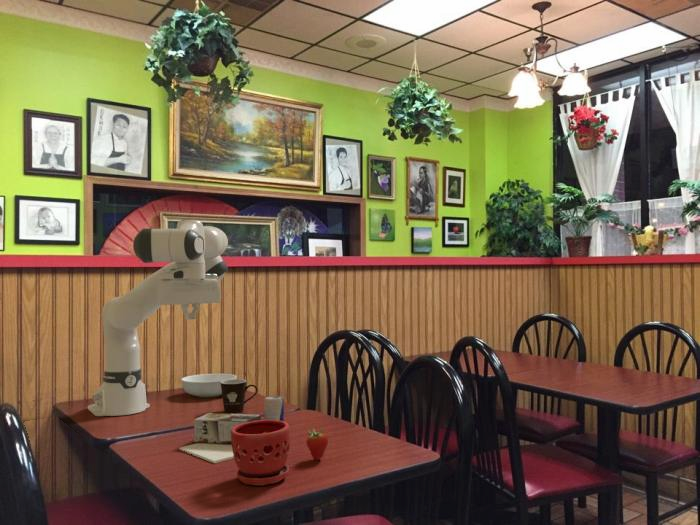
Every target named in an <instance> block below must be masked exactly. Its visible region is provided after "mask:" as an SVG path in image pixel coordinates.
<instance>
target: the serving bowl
mask: <svg viewBox="0 0 700 525" xmlns="http://www.w3.org/2000/svg"><path fill="white" fill-rule="evenodd" d="M232 379H237V375H235V374H232V373H231V374H230V373H200V374H194V375H189V376H183V377H182V378H181V380H180V381H181V386H182V388H183V390H184V391H185V392H186V393H187V394H189V395H192V396H197V397H199V398H214V397H219V396H222V390H221V381H224V380H232Z"/></svg>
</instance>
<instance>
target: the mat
mask: <svg viewBox="0 0 700 525" xmlns="http://www.w3.org/2000/svg"><path fill="white" fill-rule="evenodd" d="M238 447H239V445H238ZM178 449H180V450H179V451H181V450H182V452H184V451H185V452H184V453H186V452H187V453H186V454H189V455H191V454H192V456H195V457H197V458H200V459H202V460H205V461H207V462H210V463H213V464H218V463H221V462H226V461H229V460H233V459H234V455H233V450H232V444H220V443H204V442H195V443H193V444H189V445H186V446H181V447H179V448H178Z"/></svg>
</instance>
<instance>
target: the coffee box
mask: <svg viewBox="0 0 700 525" xmlns="http://www.w3.org/2000/svg"><path fill="white" fill-rule="evenodd" d="M259 420H262V415H261V414H250V413H249V414H248V413H247V414H246V413H225V412H224V413H221V412H219V413H218V412H217V413H215V412H208V413H206V414H204V415H200V417H197V418H194V421H193V423H194V424H193V433H194V434H193V442H194V443H201V442H204V443H220V444H232V443H231V430H232V428H234V427H235V426H237V425H240V424H243V423H247V422H252V421H259Z"/></svg>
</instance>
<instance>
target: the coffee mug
mask: <svg viewBox="0 0 700 525" xmlns="http://www.w3.org/2000/svg"><path fill="white" fill-rule="evenodd" d="M250 387H253V388H254V389H255V393H254V394H252V396H250V397H248V399H246V392H247V390H248V389H249V388H250ZM221 390H222V394H221V396H222V404H223V412H224V414H240V413H243V412H244V408H245V404H246V403H247V402H249V401H250V400H252V399H253V398H254V397H255V396H256V395H257V393H258V387H257V385H255V384H249V385H247V380H246V379H237V378H236V379H232V380H224V381H221ZM245 399H246V400H245ZM242 411H243V412H242ZM239 412H240V413H239Z"/></svg>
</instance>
